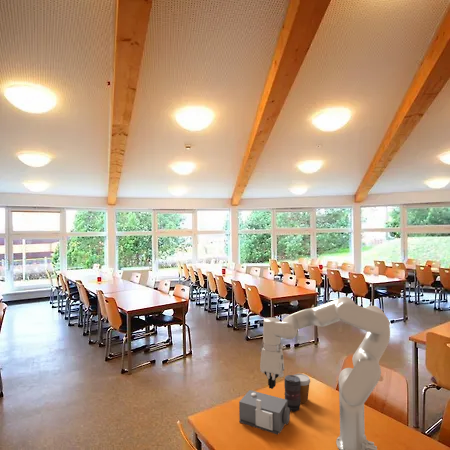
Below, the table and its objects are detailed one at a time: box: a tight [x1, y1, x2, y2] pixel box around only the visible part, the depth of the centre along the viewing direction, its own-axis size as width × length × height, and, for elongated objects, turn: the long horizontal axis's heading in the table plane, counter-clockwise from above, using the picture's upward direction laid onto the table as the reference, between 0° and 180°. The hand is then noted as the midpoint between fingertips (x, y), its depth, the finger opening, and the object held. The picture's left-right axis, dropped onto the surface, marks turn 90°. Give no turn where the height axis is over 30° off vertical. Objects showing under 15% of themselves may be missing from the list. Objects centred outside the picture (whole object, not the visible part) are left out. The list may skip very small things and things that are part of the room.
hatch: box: [255, 399, 273, 430], centre depth 139 cm, size 8×1×12 cm, turn 61°
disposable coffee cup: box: [293, 373, 311, 404], centre depth 162 cm, size 10×10×12 cm
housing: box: [238, 389, 291, 436], centre depth 145 cm, size 22×13×10 cm, turn 61°
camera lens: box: [283, 374, 301, 412], centre depth 156 cm, size 8×8×15 cm
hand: (271, 387), depth 137 cm, fingers closed
